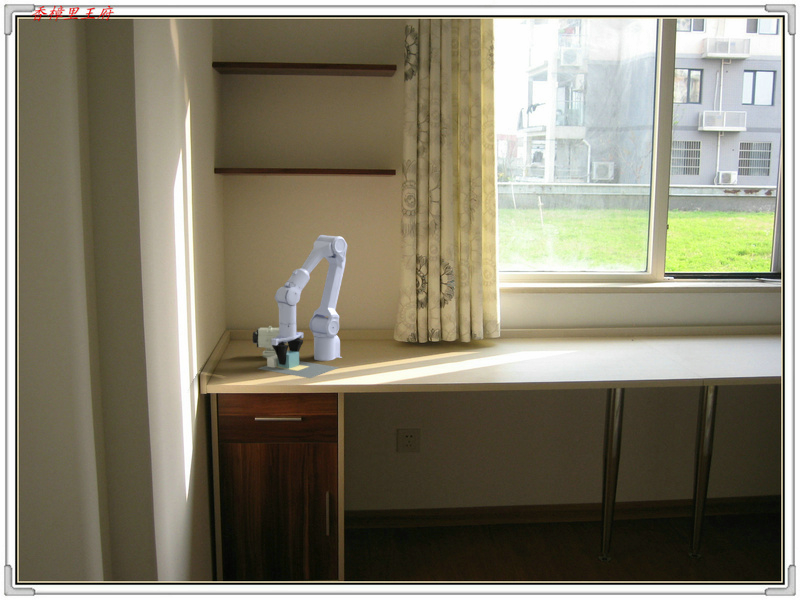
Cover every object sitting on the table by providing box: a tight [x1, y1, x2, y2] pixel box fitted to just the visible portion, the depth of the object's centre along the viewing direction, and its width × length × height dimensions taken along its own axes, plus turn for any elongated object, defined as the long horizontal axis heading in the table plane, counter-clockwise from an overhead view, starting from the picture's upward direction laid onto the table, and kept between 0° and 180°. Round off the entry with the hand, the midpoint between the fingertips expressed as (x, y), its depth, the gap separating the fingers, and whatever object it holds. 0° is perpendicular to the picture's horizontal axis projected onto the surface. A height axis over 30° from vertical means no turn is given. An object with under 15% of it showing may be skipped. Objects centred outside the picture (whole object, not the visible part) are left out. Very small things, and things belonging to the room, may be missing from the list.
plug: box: [278, 349, 300, 369], centre depth 233 cm, size 5×5×5 cm
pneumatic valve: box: [252, 325, 288, 359], centre depth 246 cm, size 6×12×12 cm, turn 93°
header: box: [266, 355, 278, 368], centre depth 235 cm, size 8×6×3 cm
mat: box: [257, 360, 340, 379], centre depth 232 cm, size 16×22×1 cm
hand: (288, 362), depth 233 cm, fingers closed on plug, 5 cm apart
